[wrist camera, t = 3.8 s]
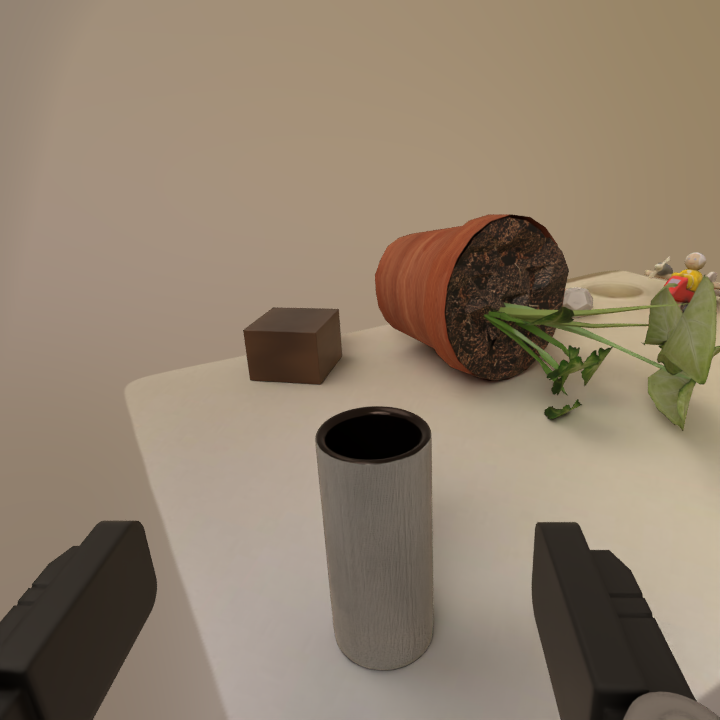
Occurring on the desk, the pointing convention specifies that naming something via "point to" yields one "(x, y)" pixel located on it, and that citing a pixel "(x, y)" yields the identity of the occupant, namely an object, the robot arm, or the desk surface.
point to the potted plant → (528, 309)
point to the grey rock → (578, 299)
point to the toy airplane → (684, 278)
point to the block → (293, 345)
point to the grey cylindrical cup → (378, 533)
